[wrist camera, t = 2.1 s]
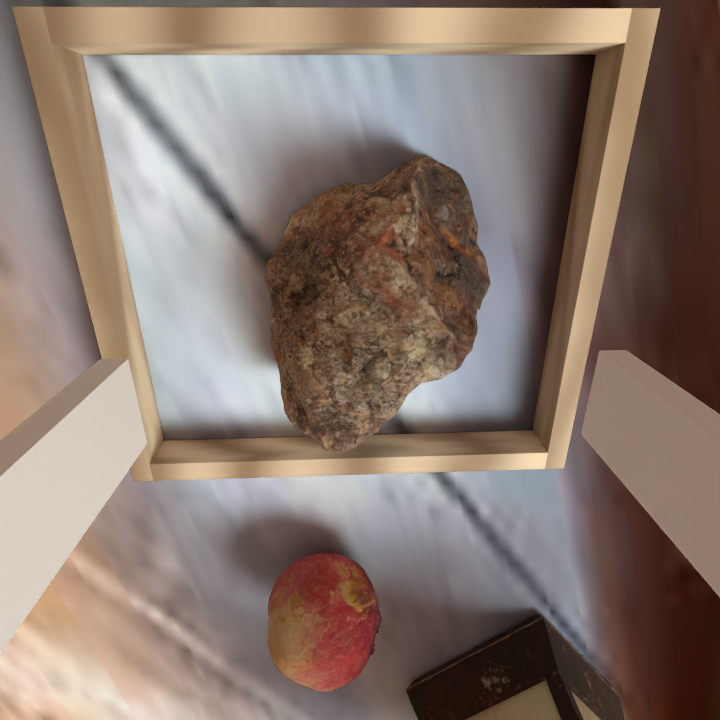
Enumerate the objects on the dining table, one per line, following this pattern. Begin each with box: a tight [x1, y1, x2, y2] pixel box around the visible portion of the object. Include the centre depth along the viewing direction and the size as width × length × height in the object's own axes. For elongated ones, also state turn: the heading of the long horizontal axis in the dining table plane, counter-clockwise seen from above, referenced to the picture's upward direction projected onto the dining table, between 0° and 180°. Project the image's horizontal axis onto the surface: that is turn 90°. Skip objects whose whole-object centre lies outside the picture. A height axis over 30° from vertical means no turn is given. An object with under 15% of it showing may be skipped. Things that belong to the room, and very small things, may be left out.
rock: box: [265, 157, 490, 454], centre depth 23 cm, size 14×9×10 cm
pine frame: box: [12, 7, 660, 481], centre depth 25 cm, size 26×23×2 cm
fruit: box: [268, 552, 382, 692], centre depth 31 cm, size 8×8×8 cm
